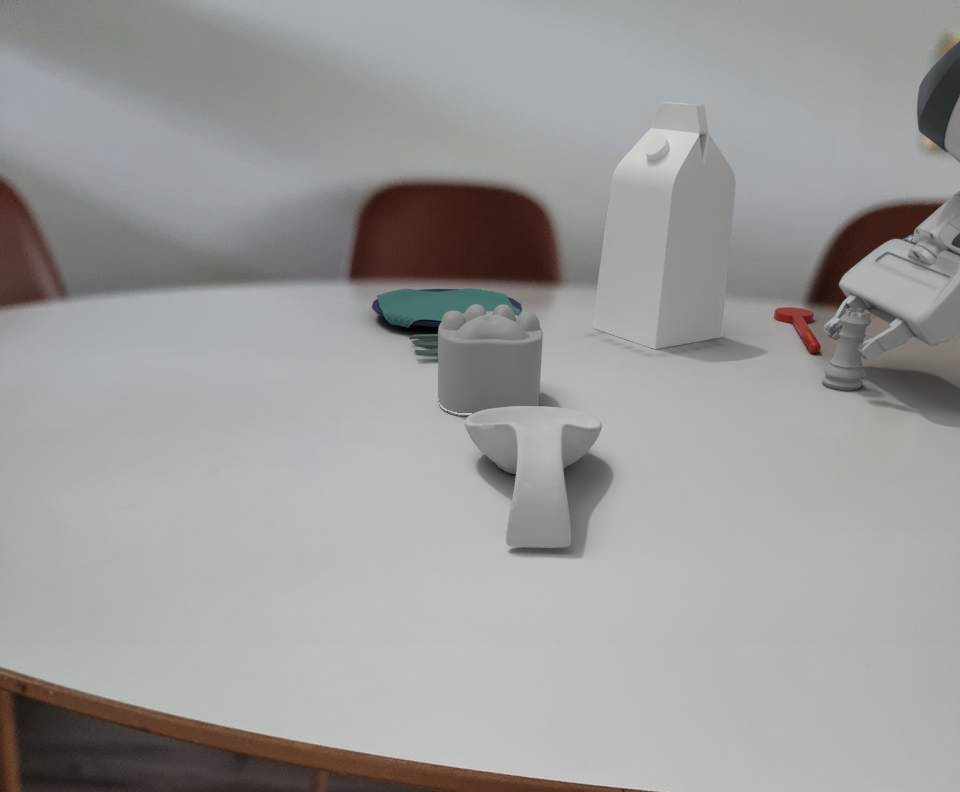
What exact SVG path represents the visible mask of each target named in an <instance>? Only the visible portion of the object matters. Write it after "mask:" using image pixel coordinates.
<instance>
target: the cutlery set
mask: <svg viewBox="0 0 960 792" xmlns="http://www.w3.org/2000/svg"><path fill="white" fill-rule="evenodd" d="M474 304H478V305H481V306H482V307H483V308H484V309H485V311H494V309H495V308H496V307H497V306H499V305H508V306H509V307H510V308H511V309H512V311H513V313H514V315H517V316H519V315H520V314H521V313H522V311H523V307H522V303H520V302H518V301H517V300H515V299H514V298H513V297H509V296H508V295H507V294H506V293H501V292H498V291H493V290H488V289H481V288H471V287H466V288H424V289H423V288H421V289H414V288H400V289H395V290H390V291H386V292H383V293H380V294H377V295H376V299H374V300H373V301H372V304H371V309H372V310H373V311H374V312H375V313H376V314H377V315H379V316H381V317H383V318H385V320H386V321H387V323H389V324H390V325H394V326H400V327H403V328H404V327H405V328H408V329H409V328H410V326H411V325H413V326H419V327H421V326H422V327H431V328H439V325H440V323H441V321H442V318H443V316H444V314H445V313H446V312H448V311H459V312H460V313H461V314H464V313H465V311H466V310H467V309H468V308H469V307H470V306H472V305H474ZM408 338H409V340H411V341H410V342H411V344H412V345H414V346H416V347H419V348H422V349H414V353H415V354H416V355H417V356H438V333H428V334H427V333H426V334H424V333H423V334H412V335H409V337H408Z"/></svg>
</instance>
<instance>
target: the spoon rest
mask: <svg viewBox="0 0 960 792" xmlns="http://www.w3.org/2000/svg"><path fill="white" fill-rule="evenodd" d="M464 427H465V430H466V432H467V434H468V436H469V438H470V439H471V441H472V443H473V444H474V445H475V447H477V449H478V450H479V451H480V452H481V453H482V454H483V455H484V456H486V457H487V458H488V459H489V460H491V461H492V462H494V463H495V464H496V466H497V467H498V469H500V470H501V469H502V470H501V471H503V470H504V471H503V472H505V471H506V472H505V473H508V472H509V473H508V474H511V473H513V474H512V475H515V474H516V475H515V479H514V487H513V493H512V498H511V503H510V508H509V513H508V520H507V526H506V532H505V533H506V535H505V544H506V545H507V546H509V547H513V548H540V549H541V548H542V549H562V548H568V547H570V546H571V545H572V529H571V528H572V527H571V515H570V507H569V501H568V494H567V488H566V479H565V471H564V470H565V469H566V468H567V467H568V466H570V465H572V464H574V463H576V462H577V461H578V460H580V459H582V458H583V457H584V456H585V455H586V454H587V453H588V452H589V451H590V450H591V448H592V447H593V446H594V444H595V443H596V442H597V440H598V437H599V436H600V433H601V432H602V427H603V425H602V421H601V420H599V419H598V418H597V417H595V416H593V415H591V414H590V413H587V412H583V411H580V410H576V409H573V408H567V407H556V406H545V405H543V406H542V405H541V406H540V405H539V406H511V407H500V408H492V409H486V410H482V411H479V412H476V413H473V414H471V415H470V416H466V418H465V420H464Z"/></svg>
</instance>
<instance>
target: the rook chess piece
mask: <svg viewBox="0 0 960 792" xmlns="http://www.w3.org/2000/svg"><path fill="white" fill-rule="evenodd" d="M853 311H854V308H849V309H846V310H845V314H844V315H843V316H842V317H841V318H840V321H841V323H842V325H843V327H842V331H841V332H840V333H839V334H840V338H839V339H838V344H837V346H836V349H835V352H834V355H833V357H832V359H830V360H829V363H828V364H827V365H825V367H824V369H823V372H824V374H825V375H823V376H822V377H821V381H822V383H823V385H824V386H825V387H827V388H830V389H833V390H839V391H856V390H858V389H860V388H861V387H862V386H863V385H864V382H863V380H862V378H864V377H865V375H866V374H865V373H866V372H865V370H864V368H863V366H864V364H863V362H862V356H861V354H860V353H859V352H858V350H857V349H858V346H859V345H860V344H861V343H863V342H864V340H865V338H867V334H866V329H867V327H868V326H869V325H871V324H872V322H873V321H872V318H871V317H870V315H871V314H870V312H869V311H868V310H864V313H862V309H859V308H858V309H857V312H853Z"/></svg>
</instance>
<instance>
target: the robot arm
mask: <svg viewBox="0 0 960 792" xmlns="http://www.w3.org/2000/svg"><path fill="white" fill-rule="evenodd" d="M916 118H917V119H916V121H917V128H918V132H919V133H921V135H923V136H924V137H926V138H927V139H928V140H930V141H931V142H932V143H934V144H935V145H936V146H937V147H938V148H940V149H941V150H942V151H943V152H945V153H948V154H950V155H951V156H952V157H953V158H954V159H955V160H956V161H957V162H958V163H959V164H960V40H959V41H958V42H957V43H955V44H954V45H953V46H952V47H951V48H949V50H947V51H946V52H945V53H944V54H943V55H942V56H941V57H940V58H938V59H937V61H936V62H935V63H934V65H932V67H931V68H930V69H929V70H928V72H927V73H926V74H925V76H924V77H923V79H922V80H921V82H920V84H919V87H918V93H917V101H916ZM838 286H839V288H840V290H841V291H842V293H843V294H844V296H845V297H846V298H845V299H844V300H843V301H842V303H841V304H840V306H839V308H838V309H837V311H836V312H835V314H834V316H833V317H832V318H831V319H829V320H828V321H827V322H826V323H825V324H824V325H823V331H824V332H825V333H826V335H827V336H828V337H829V338H831V339H832V340H833V341H837V340H838V341H839V340H840V334H839V333H840V332H841V331H842V327H843V325H842V323H841V321H840V318H841V317H842V316H843V315H844V314H845V310H846V309H849V308H854V311H853V312H857V309H858V308H859V309H862V313H864V310H868V311H869V312H870V315H871V316H874V317H875V318H877V319H879V320H881V321H883V322H885V323H887V324H889V325H888V328H887V329H885V330H883V331H882V332H880V333H878V334H876V335H875V336H870V335H869V336H868V337H866V339H864V340H863V343H861V344H860V345H859V346H858V349H857V350H858V352H859V353H860V354H861V358H863V359H864V360H866V361H868V362H870V363H873V362H875V361H876V360H877V359H878V358H879V357H880V356H882V355H883V354H884V353H886V352H889V351H891V350H893V349H896V348H898V347H900V346H902V345H905V344H906V343H907V342H908V341H910V340H911V339H912V338H915V339H918V340H919V341H921V342H923V344H924V343H925V344H926V345H928V346H930V347H935V346H937V345H941V344H943V343H946V342H948V341H950V340H951V339H952V338H954V337H955V336H956V335H957V334H959V333H960V190H959V191H957V192H955V193H954V194H953V195H952V196H951V197H949V198H948V199H947V200H946V201H945V202H944V203H943V204H942V205H941V206H939V207H938V208H937V209H936V210H935V211H934V212H932V213H931V214H930V215H929V216H928V217H927V218H926V219H924V220H923V221H922V222H921V223H920V224H919V225H918V226H916V227H915V229H914V231H913V234H909V235H907V237H904V238H902V239H901V238H892V239H890V240H887V241H886V242H884V243H882V244H881V245H879V246H878V247H876V248H875V249H873V250H872V251H871V252H869V253H868V254H867V255H866V256H864V257H863V258H861V260H860V261H858V262H857V263H856V264H855V265H854V266H852V267H851V268H849V269H848V271H846V272H845V273H844V274H843V275H842V277H841V278H840V280H839V283H838Z"/></svg>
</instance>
